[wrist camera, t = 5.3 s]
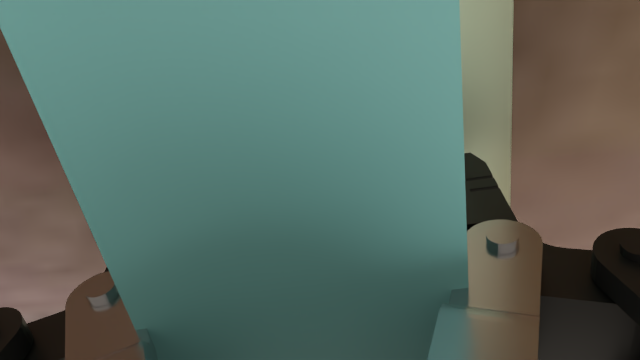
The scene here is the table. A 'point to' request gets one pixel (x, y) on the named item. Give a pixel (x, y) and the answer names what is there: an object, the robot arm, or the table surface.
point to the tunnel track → (488, 84)
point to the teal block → (261, 165)
